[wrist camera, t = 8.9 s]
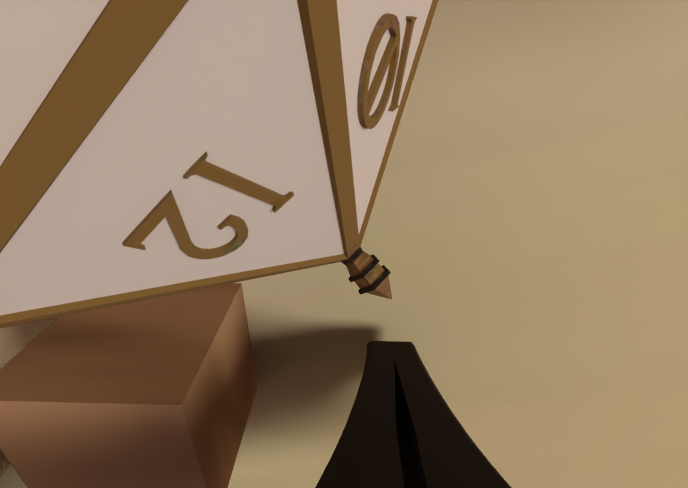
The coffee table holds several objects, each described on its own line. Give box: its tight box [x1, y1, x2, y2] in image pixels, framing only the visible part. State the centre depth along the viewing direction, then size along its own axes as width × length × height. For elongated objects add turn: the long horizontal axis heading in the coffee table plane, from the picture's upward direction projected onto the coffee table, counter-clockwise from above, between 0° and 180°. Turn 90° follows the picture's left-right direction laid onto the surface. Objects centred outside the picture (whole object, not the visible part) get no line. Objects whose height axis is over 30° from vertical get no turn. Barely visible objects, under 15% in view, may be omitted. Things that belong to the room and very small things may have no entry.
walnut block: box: [0, 283, 257, 488], centre depth 11 cm, size 4×4×4 cm
